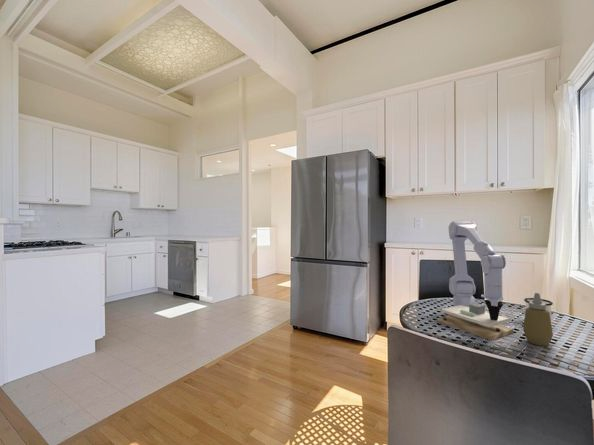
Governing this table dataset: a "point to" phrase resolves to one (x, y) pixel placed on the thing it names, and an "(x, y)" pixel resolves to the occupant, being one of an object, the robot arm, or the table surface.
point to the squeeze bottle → (537, 323)
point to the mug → (548, 303)
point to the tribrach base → (476, 327)
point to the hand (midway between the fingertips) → (493, 319)
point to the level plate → (474, 314)
